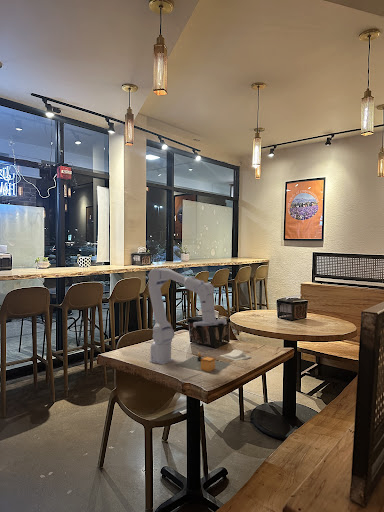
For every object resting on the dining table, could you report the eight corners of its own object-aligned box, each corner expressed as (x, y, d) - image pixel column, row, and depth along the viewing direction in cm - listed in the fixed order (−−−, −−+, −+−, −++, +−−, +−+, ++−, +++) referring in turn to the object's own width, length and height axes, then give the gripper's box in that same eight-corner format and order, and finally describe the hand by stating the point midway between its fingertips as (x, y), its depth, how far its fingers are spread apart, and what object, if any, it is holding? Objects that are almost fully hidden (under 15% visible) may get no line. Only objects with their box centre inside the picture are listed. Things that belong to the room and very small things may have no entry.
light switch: (252, 351, 170) (236, 355, 161) (252, 360, 170) (235, 364, 161) (235, 347, 178) (218, 350, 169) (234, 355, 178) (218, 359, 169)
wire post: (196, 360, 161) (196, 353, 161) (198, 359, 163) (198, 352, 163) (200, 361, 160) (200, 353, 160) (202, 360, 162) (202, 352, 162)
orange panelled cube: (200, 369, 150) (200, 359, 149) (205, 366, 153) (206, 356, 153) (210, 371, 147) (210, 361, 147) (215, 368, 151) (215, 358, 151)
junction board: (175, 367, 155) (175, 365, 154) (193, 358, 168) (193, 356, 168) (214, 376, 144) (214, 374, 144) (231, 365, 158) (231, 363, 158)
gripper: (189, 313, 148) (193, 345, 147) (222, 310, 144) (227, 343, 143) (194, 311, 155) (197, 342, 154) (225, 308, 151) (229, 339, 150)
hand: (212, 342), depth 149 cm, fingers open, 7 cm apart
